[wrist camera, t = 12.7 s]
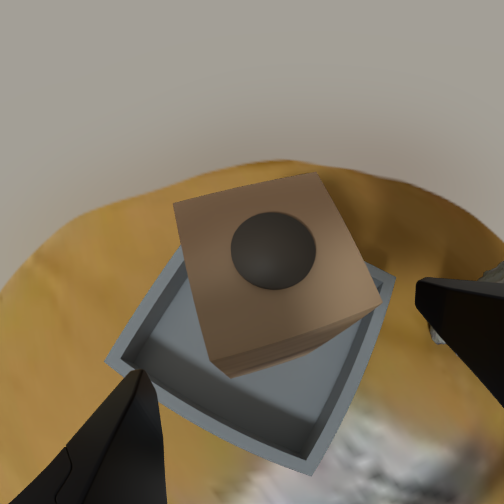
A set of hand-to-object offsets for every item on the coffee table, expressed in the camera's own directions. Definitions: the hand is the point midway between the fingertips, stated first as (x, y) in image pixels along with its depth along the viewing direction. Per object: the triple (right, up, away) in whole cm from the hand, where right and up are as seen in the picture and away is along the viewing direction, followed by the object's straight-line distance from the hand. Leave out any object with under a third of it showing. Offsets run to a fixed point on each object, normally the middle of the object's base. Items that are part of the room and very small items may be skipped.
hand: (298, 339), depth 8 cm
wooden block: (-1, -3, +10) cm, 10 cm away
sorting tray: (-1, -3, +11) cm, 11 cm away
